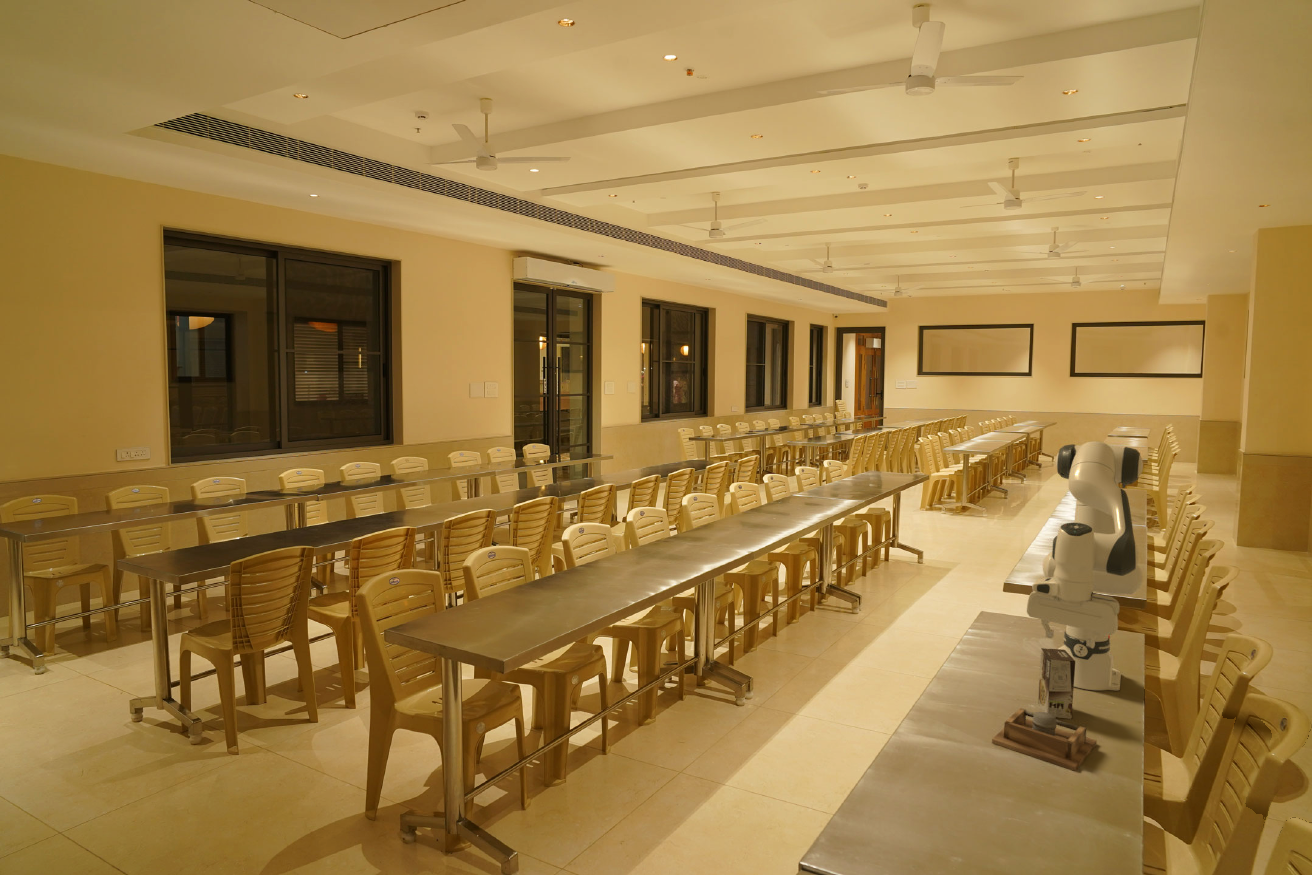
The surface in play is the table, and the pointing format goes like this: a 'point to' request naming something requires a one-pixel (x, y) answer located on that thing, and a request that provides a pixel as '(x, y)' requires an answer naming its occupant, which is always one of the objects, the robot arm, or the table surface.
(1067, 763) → the brown wooden open box
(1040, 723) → the stacked grey discs
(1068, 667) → the coffee box
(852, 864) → the table surface
